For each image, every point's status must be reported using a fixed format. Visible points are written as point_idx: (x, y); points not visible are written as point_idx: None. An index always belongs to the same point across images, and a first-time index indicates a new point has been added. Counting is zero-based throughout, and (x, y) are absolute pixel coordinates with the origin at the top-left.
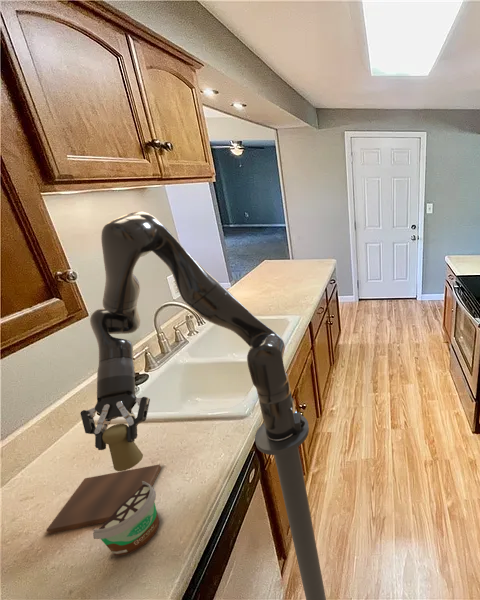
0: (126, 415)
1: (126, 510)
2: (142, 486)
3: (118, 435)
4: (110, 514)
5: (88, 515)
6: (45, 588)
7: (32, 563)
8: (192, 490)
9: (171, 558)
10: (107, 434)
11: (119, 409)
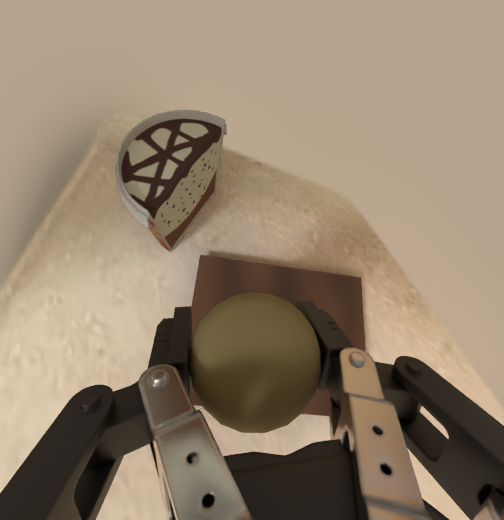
0: (176, 425)
1: (171, 148)
2: (149, 206)
3: (222, 302)
4: (251, 267)
5: (296, 282)
6: (298, 182)
7: (344, 231)
8: (84, 282)
9: (118, 149)
10: (282, 312)
11: (245, 510)
